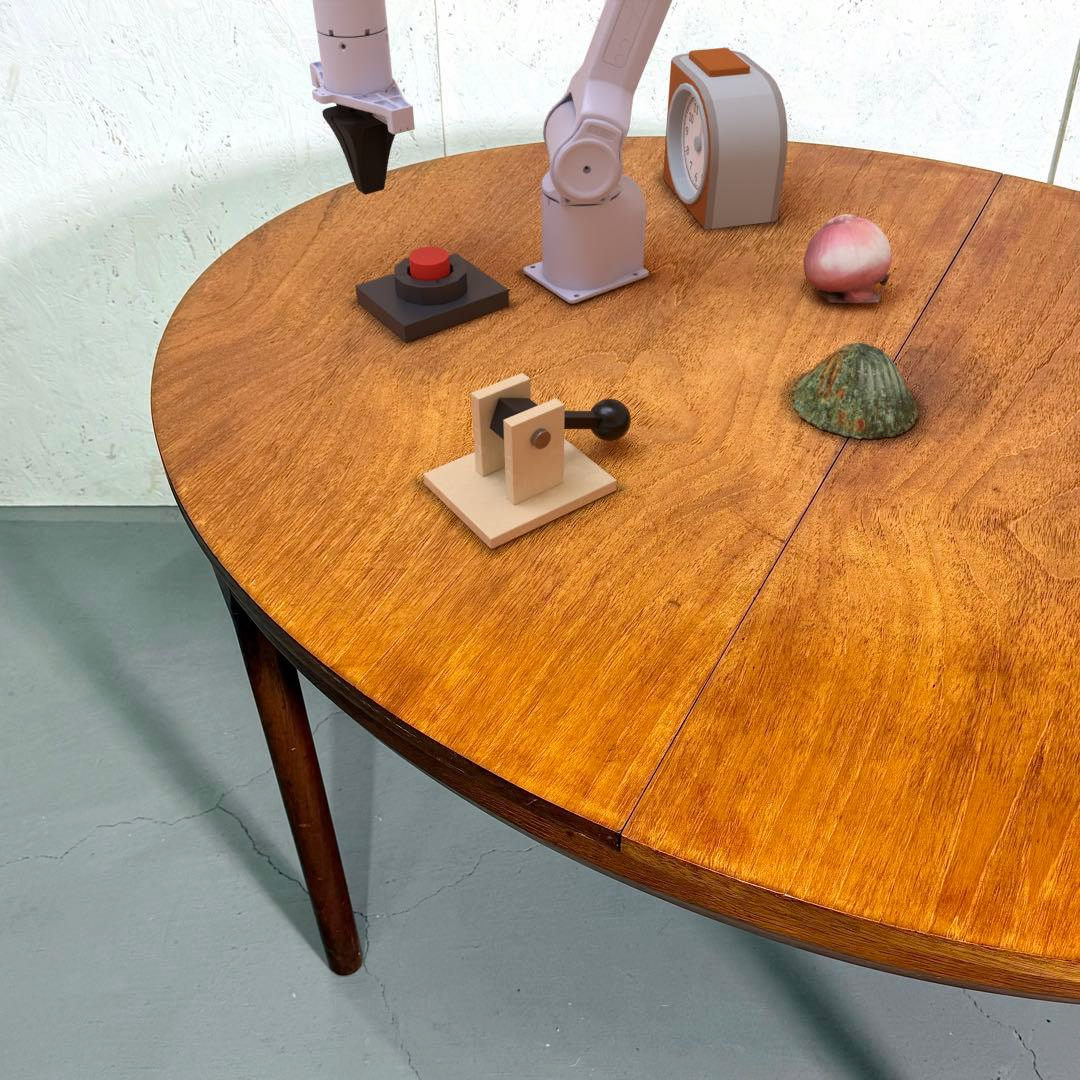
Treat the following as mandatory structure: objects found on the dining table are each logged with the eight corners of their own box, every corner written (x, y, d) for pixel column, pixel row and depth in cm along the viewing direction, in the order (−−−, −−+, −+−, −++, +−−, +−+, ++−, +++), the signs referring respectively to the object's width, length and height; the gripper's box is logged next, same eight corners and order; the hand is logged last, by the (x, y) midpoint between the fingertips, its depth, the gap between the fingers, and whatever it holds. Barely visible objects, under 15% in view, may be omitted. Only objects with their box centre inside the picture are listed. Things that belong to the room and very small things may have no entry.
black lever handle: (604, 428, 83) (618, 391, 81) (630, 448, 81) (645, 410, 79) (483, 429, 75) (495, 388, 73) (508, 451, 73) (522, 410, 71)
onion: (851, 266, 103) (865, 195, 98) (903, 301, 98) (921, 228, 93) (782, 284, 101) (794, 212, 96) (833, 321, 95) (848, 247, 91)
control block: (457, 269, 103) (455, 235, 101) (509, 306, 98) (508, 271, 96) (357, 302, 99) (352, 267, 96) (406, 343, 93) (402, 307, 91)
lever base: (544, 432, 83) (544, 345, 78) (616, 490, 78) (621, 401, 72) (423, 484, 78) (414, 395, 73) (491, 550, 73) (486, 459, 68)
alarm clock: (655, 173, 120) (663, 47, 111) (726, 166, 122) (739, 40, 113) (701, 230, 109) (714, 95, 100) (778, 221, 111) (797, 87, 102)
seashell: (793, 379, 81) (812, 317, 88) (781, 423, 83) (800, 359, 90) (927, 412, 79) (935, 346, 86) (910, 456, 81) (919, 388, 89)
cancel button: (437, 260, 98) (435, 242, 97) (457, 275, 96) (456, 257, 95) (403, 271, 97) (401, 253, 95) (423, 286, 94) (422, 268, 93)
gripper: (268, 14, 89) (294, 174, 98) (350, 60, 80) (370, 230, 89) (343, 0, 92) (362, 156, 101) (431, 42, 83) (442, 208, 92)
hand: (371, 189), depth 95 cm, fingers closed
